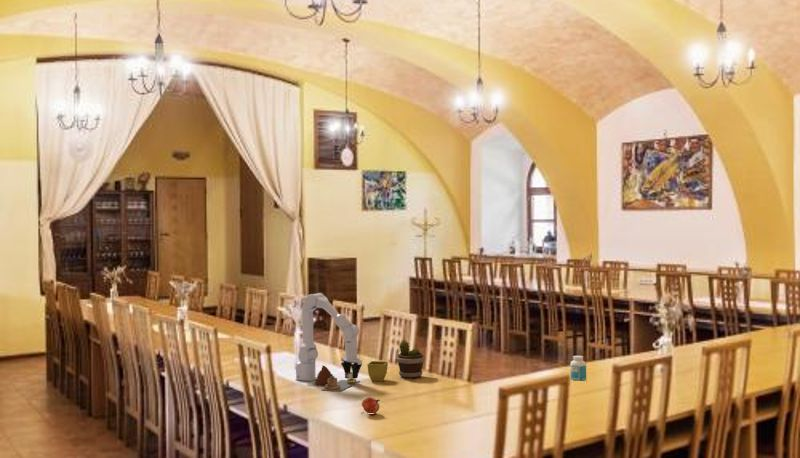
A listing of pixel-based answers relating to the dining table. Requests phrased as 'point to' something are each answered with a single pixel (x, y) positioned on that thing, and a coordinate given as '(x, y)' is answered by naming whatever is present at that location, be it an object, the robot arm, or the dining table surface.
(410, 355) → the flowerpot
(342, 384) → the mat
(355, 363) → the robot arm
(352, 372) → the hub
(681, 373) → the dining table surface
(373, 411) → the pomegranate
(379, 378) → the flower pot
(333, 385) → the tan rock
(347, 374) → the clutch plate
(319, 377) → the poop emoji
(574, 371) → the pill bottle
